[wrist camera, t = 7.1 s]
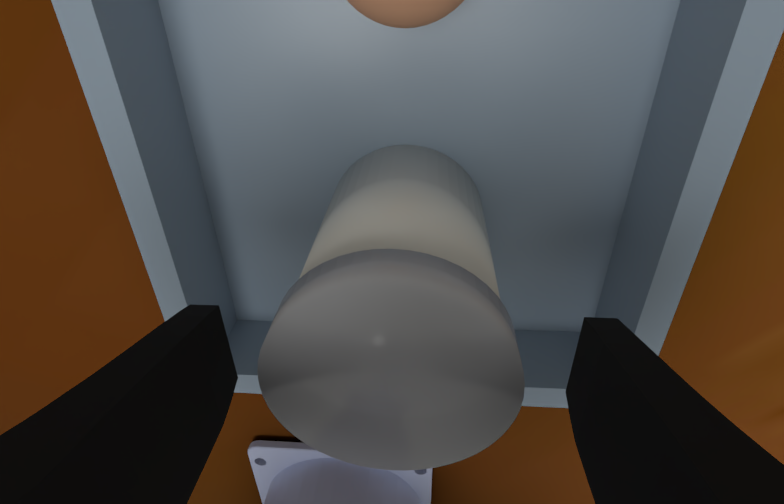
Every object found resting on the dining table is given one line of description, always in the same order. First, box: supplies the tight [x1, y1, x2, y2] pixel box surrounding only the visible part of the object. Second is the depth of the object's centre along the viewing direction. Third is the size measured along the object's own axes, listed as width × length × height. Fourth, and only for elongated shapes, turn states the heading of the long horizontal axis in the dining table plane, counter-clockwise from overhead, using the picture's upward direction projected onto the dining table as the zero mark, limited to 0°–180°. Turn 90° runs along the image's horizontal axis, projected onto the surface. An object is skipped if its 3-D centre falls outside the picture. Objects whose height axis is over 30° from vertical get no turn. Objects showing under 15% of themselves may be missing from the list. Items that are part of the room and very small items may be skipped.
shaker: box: [257, 145, 525, 470], centre depth 11 cm, size 5×5×6 cm
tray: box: [51, 0, 784, 408], centre depth 11 cm, size 16×14×3 cm
